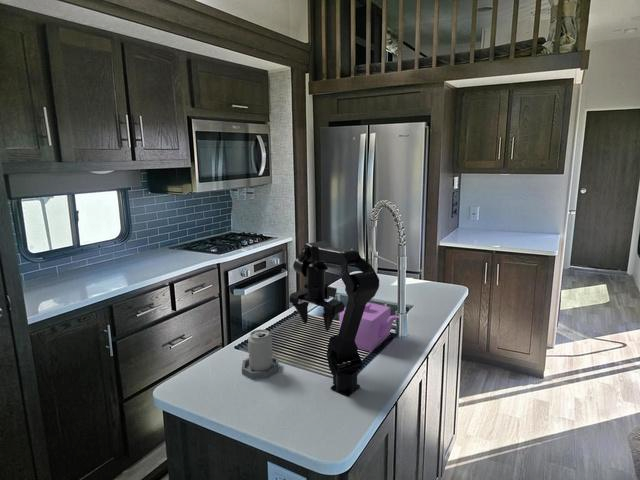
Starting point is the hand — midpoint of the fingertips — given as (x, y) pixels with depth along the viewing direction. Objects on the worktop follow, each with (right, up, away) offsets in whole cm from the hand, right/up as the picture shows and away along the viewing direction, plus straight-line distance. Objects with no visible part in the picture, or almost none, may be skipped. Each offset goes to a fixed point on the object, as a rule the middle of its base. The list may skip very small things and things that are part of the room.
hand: (316, 326), depth 137 cm
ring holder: (-18, -14, 0) cm, 23 cm away
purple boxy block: (+19, -9, +19) cm, 28 cm away
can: (-18, -13, 0) cm, 22 cm away
